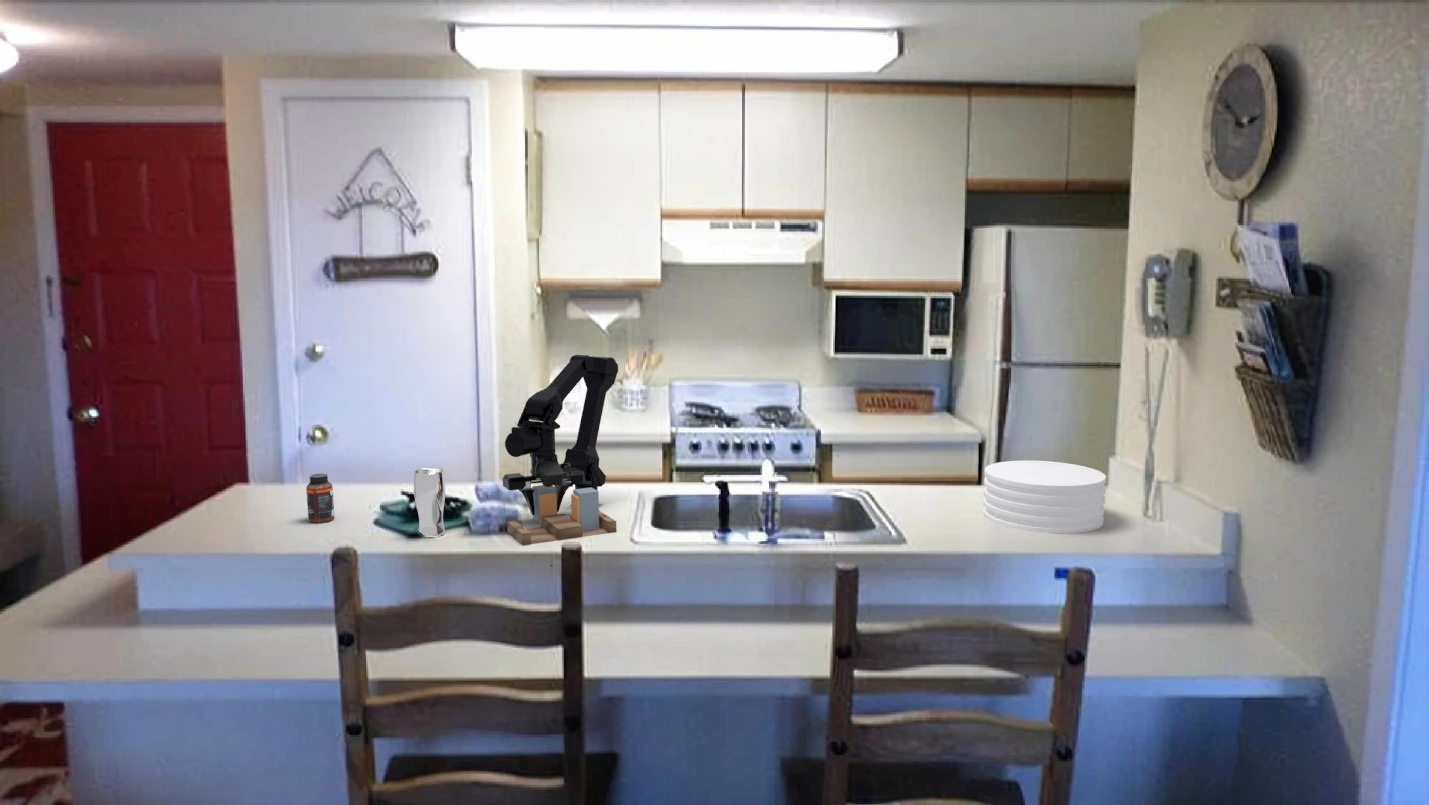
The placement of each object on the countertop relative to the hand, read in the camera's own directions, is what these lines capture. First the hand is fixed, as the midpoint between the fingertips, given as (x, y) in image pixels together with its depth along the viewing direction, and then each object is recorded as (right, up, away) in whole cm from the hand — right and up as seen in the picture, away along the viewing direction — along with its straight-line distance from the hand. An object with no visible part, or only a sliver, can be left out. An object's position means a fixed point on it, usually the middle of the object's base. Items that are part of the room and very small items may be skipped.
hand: (545, 513), depth 234 cm
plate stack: (+121, -2, +5) cm, 121 cm away
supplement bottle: (-55, -2, +4) cm, 55 cm away
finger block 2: (+11, -3, -7) cm, 14 cm away
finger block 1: (0, -3, 0) cm, 2 cm away
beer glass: (-25, -4, -8) cm, 26 cm away
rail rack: (+6, -4, -10) cm, 12 cm away
